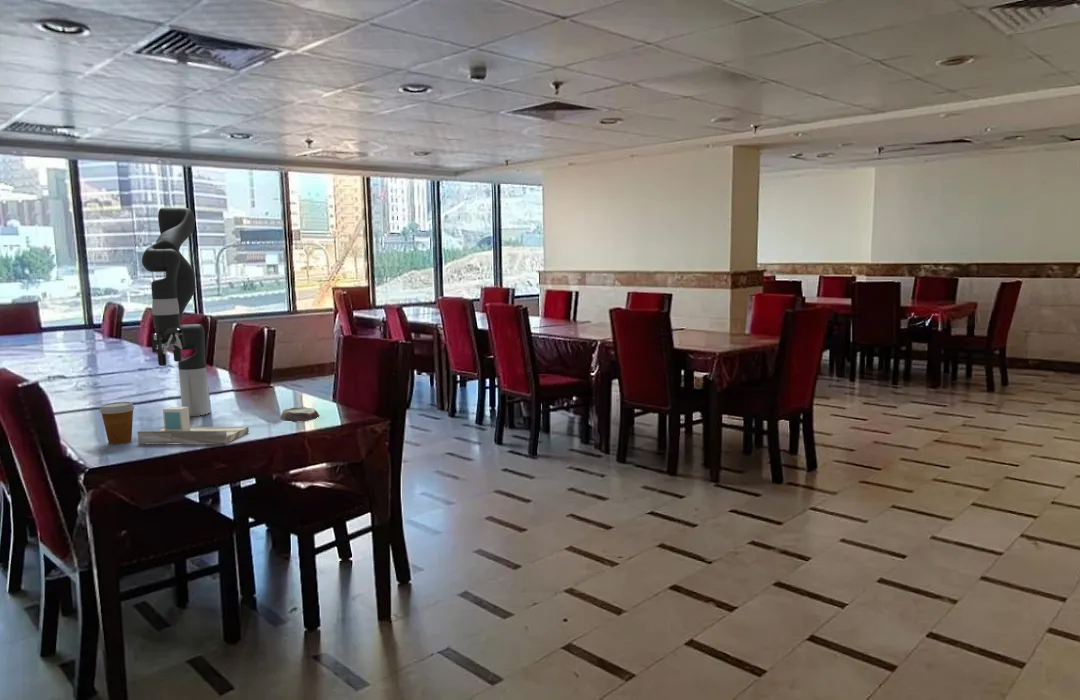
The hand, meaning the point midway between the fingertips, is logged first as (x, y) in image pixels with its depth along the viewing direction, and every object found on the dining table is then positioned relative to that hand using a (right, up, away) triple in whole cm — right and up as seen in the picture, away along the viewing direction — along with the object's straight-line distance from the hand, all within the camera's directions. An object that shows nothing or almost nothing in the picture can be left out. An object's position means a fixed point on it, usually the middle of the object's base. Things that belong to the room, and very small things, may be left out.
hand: (170, 363), depth 237 cm
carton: (+4, -22, -3) cm, 22 cm away
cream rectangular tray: (+9, -24, -1) cm, 25 cm away
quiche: (+32, -21, +26) cm, 47 cm away
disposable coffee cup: (-14, -25, -4) cm, 29 cm away
